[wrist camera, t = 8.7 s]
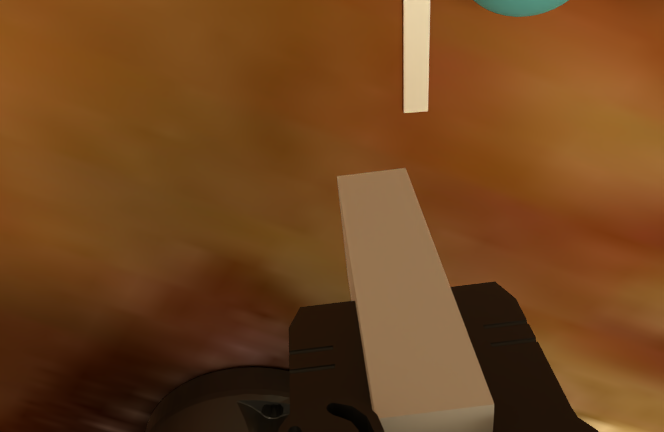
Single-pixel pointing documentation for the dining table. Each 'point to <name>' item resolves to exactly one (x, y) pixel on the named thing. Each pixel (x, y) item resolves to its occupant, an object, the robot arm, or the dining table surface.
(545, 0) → the ball
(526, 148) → the dining table surface
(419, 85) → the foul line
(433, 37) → the dining table surface
